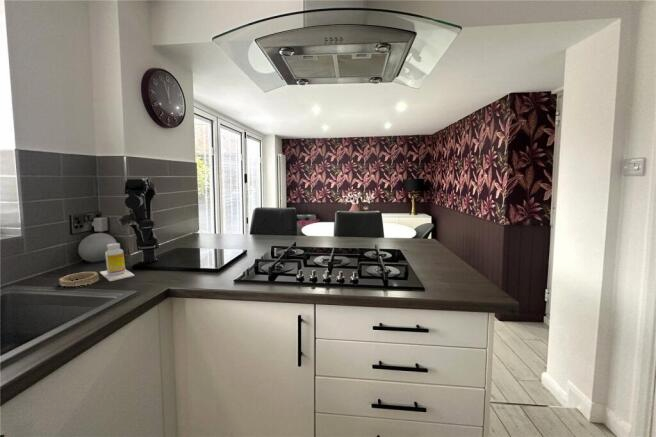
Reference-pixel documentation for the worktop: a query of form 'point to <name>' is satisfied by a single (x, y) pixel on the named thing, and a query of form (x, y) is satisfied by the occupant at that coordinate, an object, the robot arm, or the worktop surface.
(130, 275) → the pad
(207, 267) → the worktop surface
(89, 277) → the ring holder
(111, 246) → the supplement bottle
